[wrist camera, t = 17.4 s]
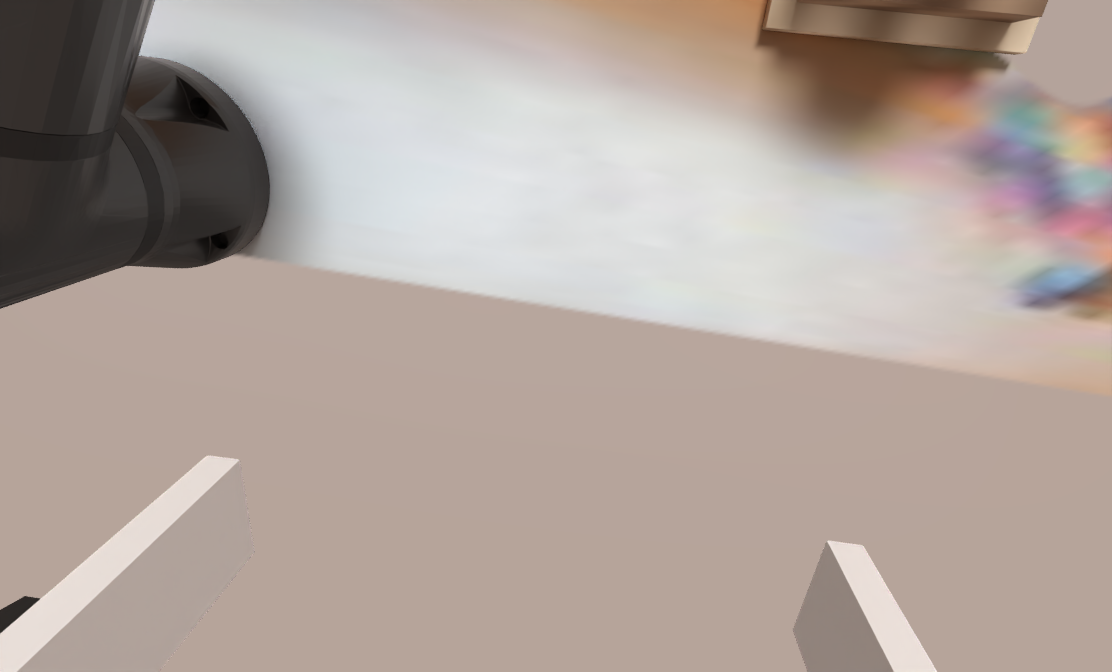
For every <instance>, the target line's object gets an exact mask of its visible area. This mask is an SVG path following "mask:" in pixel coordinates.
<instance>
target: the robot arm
mask: <svg viewBox="0 0 1112 672" xmlns="http://www.w3.org/2000/svg"><path fill="white" fill-rule="evenodd" d="M154 2H155V0H0V309H1V308H3V307H6V306H9V305H12V304H15V303H18V302H21V301H24V300H27V299H30V298H33V297H36V296H39V295H42V294H45V293H47V292H50V291H53V290H56V289H59V288H62V287H65V286H68V285H71V284H74V283H77V282H80V281H83V280H86V279H89V278H91V277H94V276H97V275H100V274H103V273H106V272H109V271H112V270H115V269H118V268H121V267H124V266H143V267H164V268H192V267H198V266H203V265H207V264H210V263H213V262H216V261H218V260H221V259H224V258H226V257H229V256H231V255H233V254H235V253H237V252H238V251H240V250H241V249H243V248H244V247H245V246H246V245H247V244H248V243H249V242H250V241H251V240H252V239H253V238H254V236H255V235H256V234H257V232H258V231H259V229H260V227H261V225H262V223H263V220H264V218H265V214H266V211H267V207H268V200H269V177H268V170H267V165H266V161H265V157H264V154H263V151H262V148H261V145H260V143H259V141H258V138H257V136H256V134H255V132H254V130H253V128H252V127H251V125H250V123H249V122H248V120H247V118H246V117H245V115H244V114H243V113H242V111H241V110H240V109H239V107H238V106H237V105H236V104H235V103H234V101H233V100H232V99H231V98H230V97H229V96H228V95H227V94H226V93H225V92H224V91H223V90H222V89H221V88H219V87H218V86H217V85H216V84H215V83H213V82H212V81H211V80H209V79H208V78H206V77H205V76H203V75H202V74H200V73H198V72H197V71H195V70H193V69H191V68H189V67H187V66H185V65H182V64H179V63H177V62H173V61H170V60H166V59H161V58H154V57H145V56H138V55H139V52H140V48H141V45H142V42H143V38H144V35H145V32H146V28H147V25H148V22H149V18H150V15H151V12H152V8H153V5H154ZM254 552H255V551H254V545H253V539H252V533H251V526H250V520H249V514H248V507H247V501H246V495H245V489H244V483H243V476H242V470H241V464H240V460H238V459H231V458H224V457H216V456H209V455H207V456H206V457H205V458H204V459H202V460H201V461H200V462H199V463H198V464H197V465H195V466H194V467H193V468H192V469H191V470H190V471H188V473H186V474H185V475H184V476H183V477H182V478H180V479H179V480H178V481H177V482H176V483H174V484H173V485H172V486H171V487H170V488H169V489H168V490H167V491H165V492H164V493H163V494H162V495H161V496H160V497H158V498H157V499H156V500H155V501H154V502H152V503H151V504H150V505H149V506H148V507H147V508H146V509H144V510H143V511H142V512H141V513H140V514H139V515H137V516H136V517H135V518H134V519H133V520H132V521H130V522H129V523H128V524H127V525H126V526H125V527H124V528H122V529H121V530H120V531H119V532H118V533H117V534H116V535H114V536H113V537H112V538H111V539H110V540H108V541H107V542H106V543H105V544H104V545H103V546H101V547H100V548H99V549H98V550H97V551H96V552H94V553H93V554H92V555H91V556H90V557H89V558H87V559H86V560H85V561H84V562H83V563H82V564H81V565H80V566H78V567H77V568H76V569H75V570H74V571H72V572H71V573H70V574H69V575H68V576H67V577H65V578H64V579H63V580H62V581H61V582H60V583H58V584H57V585H56V586H55V587H54V588H53V589H51V590H50V591H49V592H48V593H47V594H46V595H45V596H43V597H42V598H41V599H40V598H33V597H27V596H24V597H23V598H21V599H19V600H17V601H16V602H14V603H12V604H10V605H8V606H7V607H5V608H3V609H1V610H0V672H159V671H160V670H161V669H162V667H163V666H164V665H165V664H166V662H167V661H168V660H169V659H170V657H171V656H172V655H173V654H174V652H175V651H176V650H177V648H178V647H179V646H180V645H181V644H182V642H183V641H184V640H185V639H186V637H187V636H188V635H189V634H190V632H191V631H192V630H193V629H194V627H195V626H196V625H197V623H198V622H199V621H200V620H201V618H202V617H203V616H204V615H205V614H206V612H207V611H208V610H209V609H210V607H211V606H212V605H213V604H214V602H215V601H216V600H217V598H218V597H219V596H220V595H221V594H222V592H223V591H224V590H225V588H226V587H227V586H228V585H229V584H230V582H231V581H232V580H233V578H234V577H235V576H236V575H237V573H238V572H239V571H240V570H241V568H242V567H243V566H244V565H245V563H246V562H247V561H248V560H249V559H250V557H251V556H252V555H253V553H254ZM793 632H794V635H795V638H796V641H797V643H798V646H799V649H800V652H801V655H802V658H803V660H804V663H805V666H806V668H807V672H937V671H936V669H935V667H934V666H933V664H932V662H931V661H930V659H929V657H928V656H927V654H926V652H925V651H924V649H923V647H922V645H921V644H920V642H919V640H918V638H917V637H916V635H915V633H914V632H913V630H912V628H911V627H910V625H909V623H908V621H907V620H906V618H905V616H904V615H903V613H902V611H901V610H900V608H899V606H898V604H897V603H896V601H895V599H894V598H893V596H892V594H891V593H890V591H889V589H888V587H887V586H886V584H885V582H884V581H883V579H882V577H881V576H880V574H879V572H878V570H877V569H876V567H875V565H874V564H873V562H872V560H871V559H870V557H869V555H868V554H867V552H866V550H865V548H864V547H863V545H856V544H848V543H841V542H834V541H827V542H826V544H825V547H824V549H823V552H822V554H821V557H820V560H819V562H818V565H817V568H816V571H815V573H814V575H813V578H812V581H811V583H810V586H809V589H808V591H807V594H806V597H805V599H804V602H803V604H802V607H801V610H800V612H799V615H798V618H797V620H796V623H795V626H794V628H793Z"/></svg>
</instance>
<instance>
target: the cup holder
mask: <svg viewBox="0 0 1112 672" xmlns="http://www.w3.org/2000/svg"><path fill="white" fill-rule="evenodd" d="M1047 2H1048V0H768V3H767V8H766V13H765V17H764V22H763V26H762V30H770V31H780V32H790V33H800V34H811V35H821V36H831V37H841V38H851V39H861V40H872V41H882V42H892V43H902V44H912V45H923V46H933V47H943V48H953V49H963V50H973V51H984V52H994V53H1004V54H1014V55H1015V54H1023V53H1026V52H1027V49H1028V46H1029V44H1030V41H1031V39H1032V36H1033V34H1034V31H1035V29H1036V26H1037V24H1038V21H1039V18H1040V17H1042V14H1043V12H1044V9H1045V7H1046V4H1047Z"/></svg>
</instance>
